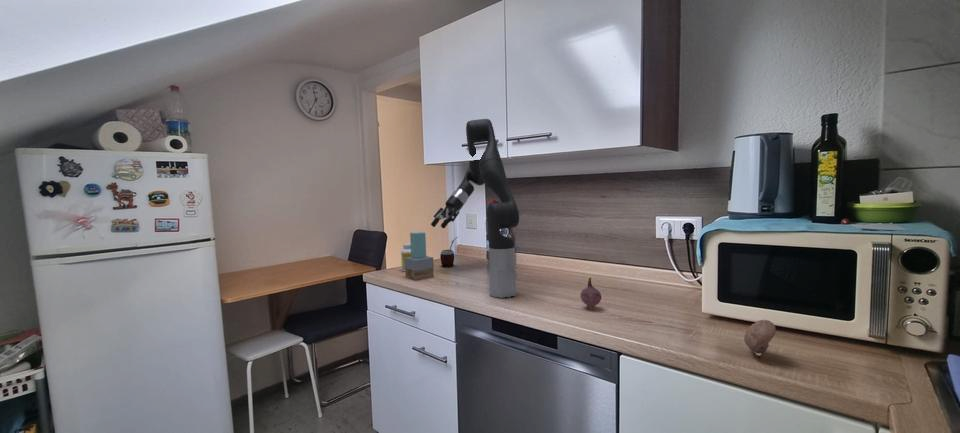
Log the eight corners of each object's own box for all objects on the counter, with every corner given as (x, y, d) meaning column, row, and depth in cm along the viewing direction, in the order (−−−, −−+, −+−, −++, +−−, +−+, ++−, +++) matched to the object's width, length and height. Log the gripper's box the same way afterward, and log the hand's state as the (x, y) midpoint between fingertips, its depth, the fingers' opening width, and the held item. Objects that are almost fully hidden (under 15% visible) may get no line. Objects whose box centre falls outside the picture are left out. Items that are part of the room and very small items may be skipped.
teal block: (426, 257, 159) (425, 232, 158) (415, 259, 156) (414, 233, 156) (421, 256, 163) (420, 231, 162) (411, 257, 161) (410, 232, 160)
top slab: (433, 267, 160) (433, 257, 159) (416, 271, 154) (415, 260, 153) (422, 264, 166) (421, 255, 166) (404, 268, 160) (404, 257, 160)
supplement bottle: (417, 271, 172) (416, 244, 171) (403, 272, 170) (402, 245, 169) (414, 268, 178) (413, 242, 177) (400, 269, 176) (399, 243, 175)
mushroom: (768, 366, 76) (770, 329, 75) (735, 355, 81) (736, 320, 80) (781, 356, 80) (783, 320, 79) (748, 346, 85) (750, 313, 84)
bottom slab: (433, 277, 160) (433, 267, 159) (415, 281, 154) (415, 271, 154) (423, 274, 167) (423, 264, 166) (405, 277, 161) (405, 267, 161)
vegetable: (576, 306, 116) (576, 275, 115) (592, 304, 118) (592, 273, 118) (588, 312, 111) (588, 280, 110) (605, 309, 113) (605, 278, 112)
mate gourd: (438, 265, 184) (437, 236, 182) (453, 264, 187) (452, 235, 186) (443, 268, 177) (442, 238, 176) (458, 266, 180) (457, 236, 179)
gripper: (444, 195, 175) (424, 220, 169) (461, 195, 164) (440, 222, 158) (453, 205, 179) (434, 230, 173) (470, 206, 168) (450, 233, 162)
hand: (437, 226), depth 165 cm, fingers open, 8 cm apart
